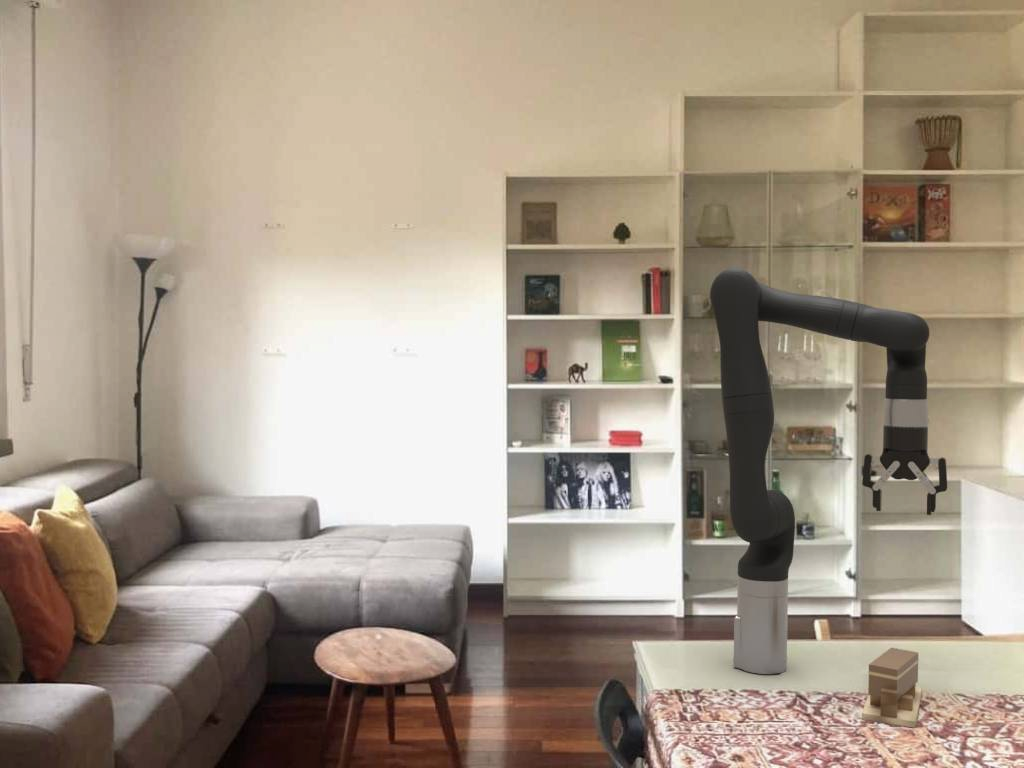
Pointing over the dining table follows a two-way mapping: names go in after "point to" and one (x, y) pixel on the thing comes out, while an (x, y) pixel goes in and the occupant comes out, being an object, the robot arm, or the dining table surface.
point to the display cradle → (894, 707)
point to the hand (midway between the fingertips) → (903, 512)
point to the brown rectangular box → (893, 672)
